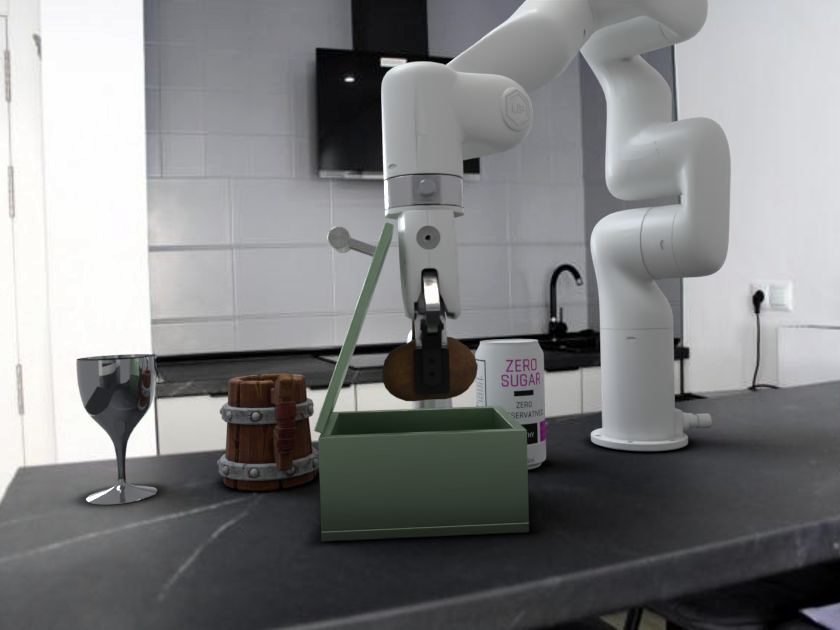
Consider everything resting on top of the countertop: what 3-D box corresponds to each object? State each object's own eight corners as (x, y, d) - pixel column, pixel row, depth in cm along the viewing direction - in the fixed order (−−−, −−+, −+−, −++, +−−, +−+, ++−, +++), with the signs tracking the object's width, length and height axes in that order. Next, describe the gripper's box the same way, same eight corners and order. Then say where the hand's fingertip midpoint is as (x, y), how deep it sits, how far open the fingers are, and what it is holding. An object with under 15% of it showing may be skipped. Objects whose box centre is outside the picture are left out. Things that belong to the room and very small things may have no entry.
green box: (502, 489, 74) (500, 405, 74) (529, 532, 60) (526, 429, 60) (333, 496, 73) (330, 411, 73) (321, 542, 60) (318, 437, 59)
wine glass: (83, 510, 71) (77, 362, 70) (80, 492, 78) (75, 357, 78) (166, 497, 74) (160, 357, 74) (156, 481, 82) (151, 352, 81)
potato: (367, 401, 67) (365, 336, 67) (451, 391, 72) (449, 330, 72) (404, 409, 61) (402, 338, 61) (491, 398, 67) (490, 332, 67)
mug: (304, 458, 90) (306, 344, 87) (340, 505, 77) (344, 374, 75) (210, 470, 85) (209, 350, 82) (233, 522, 72) (233, 382, 70)
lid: (392, 238, 73) (342, 221, 73) (394, 224, 59) (333, 203, 59) (334, 408, 73) (284, 392, 73) (322, 434, 59) (261, 413, 59)
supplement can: (506, 453, 91) (503, 338, 91) (559, 462, 85) (556, 339, 85) (464, 465, 86) (461, 342, 85) (518, 475, 80) (515, 343, 79)
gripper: (475, 185, 58) (481, 400, 58) (454, 211, 75) (458, 376, 76) (384, 186, 57) (390, 403, 58) (384, 213, 75) (389, 379, 75)
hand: (429, 386), depth 67 cm, fingers closed on potato, 7 cm apart
